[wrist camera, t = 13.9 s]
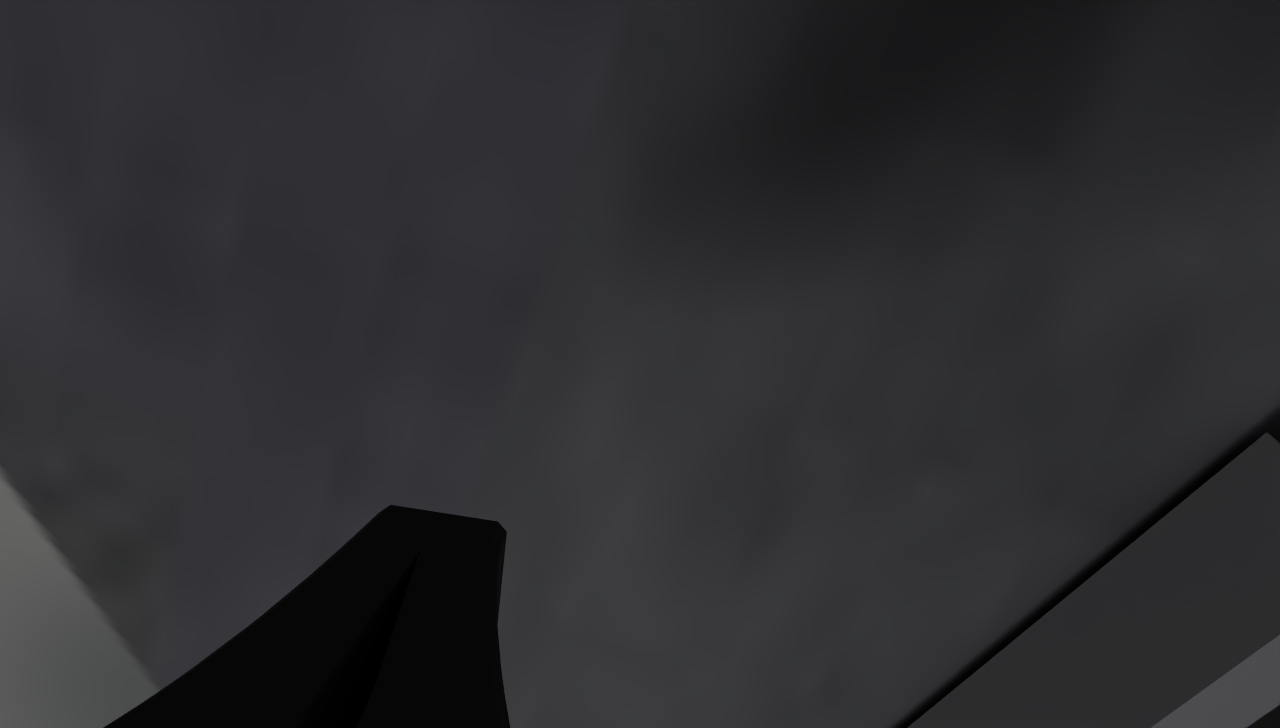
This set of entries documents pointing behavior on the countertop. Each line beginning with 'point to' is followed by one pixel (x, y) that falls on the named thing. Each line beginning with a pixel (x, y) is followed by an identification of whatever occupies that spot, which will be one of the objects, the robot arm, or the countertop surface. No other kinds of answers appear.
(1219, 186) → the countertop surface
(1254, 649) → the tray
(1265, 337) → the countertop surface
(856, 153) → the countertop surface
